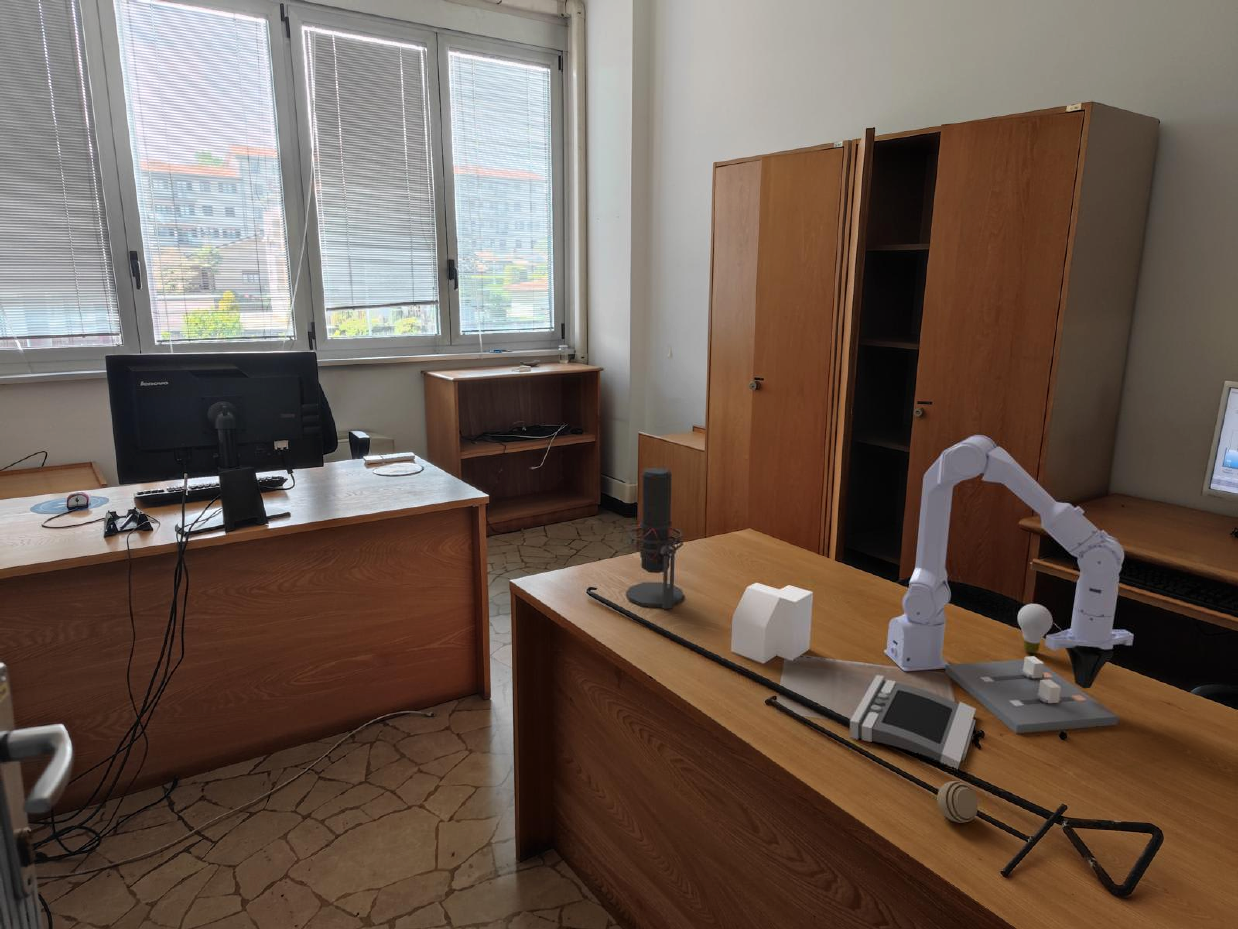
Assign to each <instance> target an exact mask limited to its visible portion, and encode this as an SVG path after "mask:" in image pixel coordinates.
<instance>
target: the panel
mask: <svg viewBox="0 0 1238 929" xmlns="http://www.w3.org/2000/svg"><path fill="white" fill-rule="evenodd" d="M1023 667H1024V659H1014V660H1013V659H1012V660H999V661H998V660H997V661H984V662H983V661H982V662H971V663H970V662H968V663H956V664H955V663H953V664H950V665H946V668H944V670H945V671H944V674H946V675H947V674H948V675H947V676H949V677H950V678H951V679H952V680H953V681H954V682H956V683H957V684H958V685H959V687H961V688H962V689H964V691H965V692H967V693H968V694H970V696H972V697H973V698H974V699H976V700H977V701H978V702H979V703H980V704H981V705H982V706H983V707H984V708H985V709H987V710H988V711H989V712H990V713H992V715H993V716H995V717H996V718H997V719H999V720H1000V721H1001V722H1002V723H1003V724H1005V726H1006V727H1008V728H1009V729H1010V730H1011V731H1013V732H1014V733H1015V734H1024V733H1025V734H1026V733H1036V732H1050V731H1060V730H1072V729H1084V728H1085V729H1086V728H1095V727H1096V726H1098V727H1107V726H1117V725H1118V724H1119V723H1118V722H1119V715H1117V714H1116V713H1114V712H1113V711H1112V710H1110V709H1108V708H1107V707H1105V705H1102V704H1101V703H1100V702H1098V701H1097V700H1096V699H1095V698H1093V697H1091V695H1088V694H1087V693H1085V691H1082V690H1081V689H1080V688H1078V687H1076V686H1075V685H1073V684H1072V683H1071V682H1069V681H1068V680H1067V679H1065V678H1063V677H1062V676H1061V675H1059V674H1058V673H1056V672H1055V671H1053V670H1052V669H1050V668H1049V667H1047V666H1046V665H1045V664H1044V666H1043V674H1044V677H1042V678H1032V677H1031V678H1028V677H1027V676H1025V675H1024V674H1023V673H1021V670H1023ZM1049 679H1050V680H1051V681H1053V682H1054V683H1056V684H1057V685H1059V686H1060V687H1061V690H1060V698H1061V701H1059V702H1058V703H1048V702H1045V703H1044V702H1043V701H1042V700H1040V699H1039V698H1038V697H1036V694H1038V693H1039V686H1040V680H1049ZM1094 726H1095V727H1094ZM1096 728H1097V727H1096Z"/></svg>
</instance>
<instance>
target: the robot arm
mask: <svg viewBox="0 0 1238 929" xmlns="http://www.w3.org/2000/svg"><path fill="white" fill-rule="evenodd" d="M981 474H983V476H982V478H981V481H984V482H992V483H1001V484H1002V485H1004V486H1005V487H1006V488H1008V490H1010V491H1011V492H1012V493H1014V495H1016V496H1017V497H1018V498H1019V499H1021V501H1023V502H1024V503H1025V504H1026V505H1028V506H1029V507H1030V508H1031V509H1032V510H1033V511H1035V512H1036V513H1037V514H1038V515H1039V516H1040V521H1041V522H1040V526H1041V528H1042V529H1044V530H1045V532H1047V534H1049V535H1050V536H1051V538H1053V539H1054V540H1055V541H1056V542H1057V543H1058V544H1059V545H1060V546H1062V548H1064V549H1065V551H1067V552H1068V553H1069V554H1070V555H1072V556H1073V557H1076V558H1077V565H1078V568H1079V570H1080V571H1079V578H1078V579H1077V581H1076V589H1075V595H1074V603H1073V610H1072V617H1071V625H1070V628H1067V629H1065V630H1063V631H1059V632H1057V633H1052V634H1045V635H1046V636H1045V644H1044V646H1045V647H1047V648H1049V649H1050V650H1052V652H1053V651H1054V652H1055V651H1059V649H1065V650H1066V652H1067V655H1068V657H1069V659H1070V662H1071V666H1072V670H1073V671H1072V672H1073V675H1074V684H1076V685H1077V686H1078V687H1080V688H1082V689H1091V687H1092V686H1093V685H1094V682H1095V680H1096V678H1097V676H1098V674H1099V672H1100V671H1101V669H1102V668H1103V667H1104V666H1105V665H1106V664H1107V663H1108V661H1110V660H1111V659H1112V658H1113V654H1114V652H1113V651H1112V649H1114V648H1113V647H1114V645H1125V646H1133V641H1134V633H1131V632H1130V631H1128V630H1126V629H1113V627H1114V626H1113V625H1114V620H1115V613H1116V608H1117V601H1118V600H1117V599H1118V593H1119V586H1118V584H1119V582H1120V575H1119V574H1120V572H1121V571H1122V568H1123V566H1122V565H1123V562H1124V559H1125V550H1124V548H1123V545H1122V544H1120V542H1119V540H1118V539H1117V538H1116V537H1114V536H1111V535H1109V534H1108V532H1106V531H1105V530H1104V529H1103V530H1100V529H1099V528H1098V527H1096V526H1095V524H1093V523H1092V522H1091V521H1090V520H1089V519H1087V518H1086V516H1085V515H1084V513H1085V510H1084V509H1083V508H1081V507H1080V506H1079V505H1078V506H1076V507H1074V506H1073V505H1072V504H1071V503H1068V502H1060V501H1059V502H1058V501H1057V500H1055V499H1054V498H1053V496H1051V495H1050V494H1049V493H1048V492H1047V491H1046V490H1045V489H1044V488H1043V487H1042V486H1041V484H1039V483H1038V482H1037V481H1036V480H1035V479H1034V478H1033V477H1032V476H1031V475H1030V474H1029V473H1028V472H1027V470H1025V469H1024V468H1023V467H1022V466H1021V465H1020V464H1019V463H1018V462H1017V461H1016V460H1015V459H1014V458H1013V457H1012V456H1011V454H1010V453H1009V452H1008V451H1006V450H1005V449H1004V448H1002V447H1001V446H997V444H996V442H994V441H993V439H991V438H989V437H988V436H986V435H981V434H975V435H972V436H971V435H970V436H968V437H967V438H966V439H964V440H961V441H960V442H957V443H956V444H954V445H952V446H950V447H949V448H947V449H945V450H943V451H942V452H941V455H940V456H939V457H938V458H937V459H936V460H935V462H934V463H933V464H932V465H931V466H930V467H929V468H928V470H927V471H926V472H925V473H924V475H923V478H922V490H921V501H920V510H919V511H920V513H919V524H918V532H917V533H918V536H917V545H916V555H915V557H916V558H915V567H914V570H913V573H912V575H911V578H910V580H909V582H908V584H909V585H908V590H907V592H906V593H905V594H904V596H903V597H902V603H901V606H902V610H903V612H904V613H903V614H902V615H900V616H897V617H892V618H891V619H890V621H889V622H888V629H887V640H886V641H887V642H886V649H884V651H883V652H884V654H885V655H886V656H888V657H889V658H890V660H892V661H893V662H894V663H895V664H896V665H897V666H898V667H899V668H900V669H901V670H903V671H904V672H913V671H914V672H915V671H916V672H917V671H927V670H928V671H929V670H939V669H940V670H942V669H944V670H945V668H946V665H951V664H950V663H949V662H948V661H946V660H945V659H944V658H943V657H942V656H943V648H944V640H945V638H944V637H945V630H946V621H947V617H946V614H945V612H944V607H946V605H948V604H949V602H950V601H951V598H952V597H951V596H952V593H951V592H952V591H951V589H950V586H949V584H948V572H947V569H946V561H947V550H948V540H949V530H950V529H949V528H950V520H951V519H950V518H951V510H952V500H953V491H954V490H953V489H954V486H956V485H957V484H959V483H960V482H963V481H966V480H969V479H973V478H975V477H978V476H980V475H981Z"/></svg>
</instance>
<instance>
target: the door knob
mask: <svg viewBox="0 0 1238 929" xmlns="http://www.w3.org/2000/svg"><path fill="white" fill-rule="evenodd" d="M936 796H937V798H936V800H937V805H938V809H939V810H940V811H941V813H942V814H943V816H945V817H946V818H947V819H948V820H950V821H952V822H954V823H960V824H961V823H962V824H963V823H969V822H971V821H972V820H973V819H974V818H975V817H976V815H977V813H978V809H979V808H978V807H979V803H978V802H979V801H978V798H977V795H976V793H975V791H974V790H973V789H972V787H970V785H968V784H966V783H964V782H962V781H958V780H957V781H956V780H954V781H953V780H952V781H947V782H945V783H944V784H942V786H941V787H940V788H939V789H938V793H937V795H936Z"/></svg>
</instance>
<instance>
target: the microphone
mask: <svg viewBox="0 0 1238 929" xmlns="http://www.w3.org/2000/svg"><path fill="white" fill-rule="evenodd" d="M641 475H642V480H641V482H642V484H641V485H642V488H641V489H642V490H641V491H642V492H641V500H642V502H641V521H640V523H639V524H638V525H637V527H635V528H634V529H631V531H630V532H629V533H628V536H629V537H630V540H629V542H628V543H629V545H630V548H631V549H634V550H636V551H637V552H638V553H639V554H640V555H639V557H640V558H641V563H640V565H641V566H640V567H641V569H643V570H645V571H646V572H647V573H651V574H652V573H653V574H660V573H663V577H662V578H663V580H662V581H663V582H661V581H656V582H654V581H653V582H651V581H650V582H647V581H646V582H641V583H638V584H635V585H631V586H630V587H628V589H627V590H626V592H625V595H626V598H627V599H628V601H629V602H631V603H632V604H636V605H638V606H641V607H644V608H645V607H646V608H648V607H649V608H662V609H663V610H666V609H673V608H674V605H676V604H679V603H681V601H682V600H683V598H684V596H685V595H684V592H683V590H682V588H680V587H678V586H676V585H674V584H675V557H676V555H675V554H676V553H677V551H678V550H679V549H680V548H681V547H682V546H684V542H683V541H682V540H681V539H683V533H682V531H681V530H680V529H678V528H674V527H673V526H672V521H671V519H672V518H671V517H672V516H671V515H672V514H671V512H672V510H671V508H672V472H671V469H670V468H669V469H668V468H664V467H647V468H646V469H644V470H642V474H641ZM637 531H641V535H636V536H634V535H633V533H634V532H637ZM671 531H672V532H674V533H675V534H678V537H676V536H673V535H671ZM634 541H637V544H638V545H639V542H640V543H641V547H640V546H636V545H634V544H633V542H634ZM674 543H676V545H675V544H674ZM669 568H670V569H669ZM668 571H670V572H668ZM668 573H669V583H668Z"/></svg>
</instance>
